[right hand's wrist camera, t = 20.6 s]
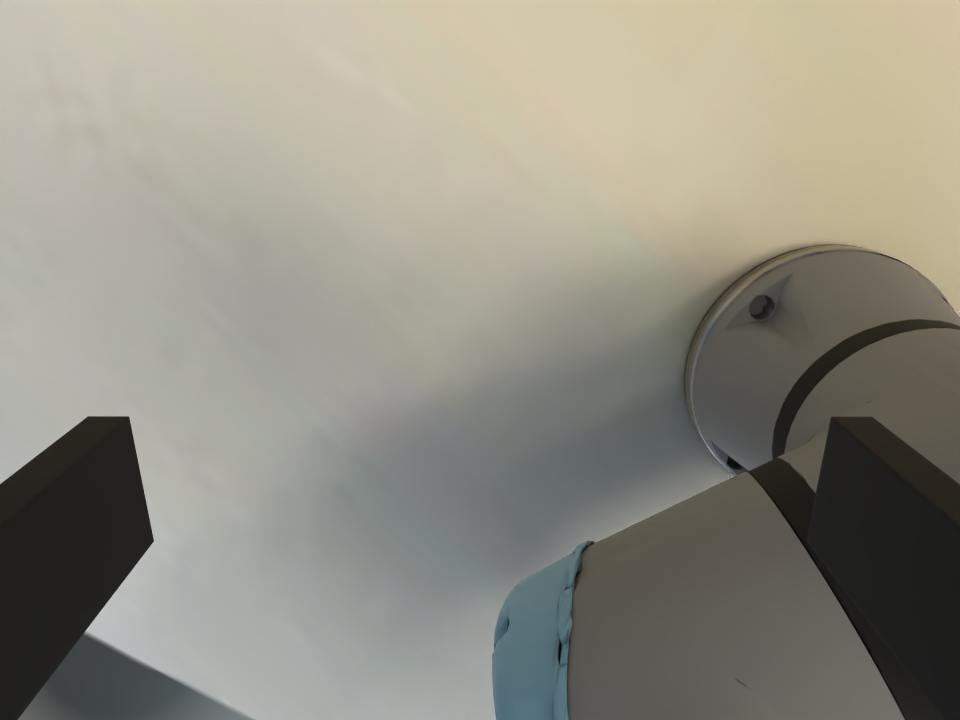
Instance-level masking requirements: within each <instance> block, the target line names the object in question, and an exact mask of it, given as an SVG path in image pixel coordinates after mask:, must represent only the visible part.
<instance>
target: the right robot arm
mask: <svg viewBox="0 0 960 720" xmlns="http://www.w3.org/2000/svg"><path fill="white" fill-rule="evenodd" d="M685 396H686V402H687V407H688V411H689V414H690V417H691V420H692V422H693V425H694V427H695V428H696V430H697V432H698V434H699V435H700V437H701V438H702V440H703V441H704V443H705V444H706V446H707V447H708V449H709V450H710V451H711V453H712V454H713V455H714V456H715V457H716V459H717V460H718V461H719V462H720V463H721V464H722V465H723V466H725V467H726V468H727V469H728V470H730V471H731V472H732V473H733V474H734V475H736V476H735V477H733V478H731V479H729V480H727V481H725V482H723V483H720V484H718V485H716V486H714V487H712V488H710V489H708V490H706V491H704V492H702V493H700V494H697V495H695V496H693V497H691V498H689V499H687V500H685V501H683V502H681V503H679V504H676V505H674V506H672V507H670V508H668V509H666V510H664V511H662V512H660V513H658V514H656V515H653V516H651V517H649V518H647V519H645V520H643V521H641V522H639V523H637V524H635V525H632V526H630V527H628V528H626V529H624V530H622V531H620V532H618V533H616V534H614V535H612V536H609V537H607V538H605V539H603V540H601V541H599V542H597V543H595V542H594V541H586V542H583V543H581V544H580V545H578V546H577V547H576V549H575V550H574V551H573V553H572V554H570V555H568V556H566V557H564V558H563V559H561V560H559V561H557V562H555V563H553V564H552V565H550V566H548V567H546V568H544V569H542V570H540V571H539V572H537V573H535V574H533V575H531V576H529V577H528V578H526V579H524V580H523V581H522V582H520V583H519V584H518V585H517V586H516V587H515V588H514V589H513V590H512V591H511V593H510V594H509V595H508V597H507V599H506V600H505V603H504V605H503V607H502V609H501V611H500V614H499V617H498V621H497V624H496V629H495V639H494V652H493V657H492V679H493V695H494V706H495V714H496V720H960V317H959V316H958V315H957V314H956V312H955V311H954V309H953V308H952V307H951V305H950V304H949V302H948V301H947V299H946V298H945V296H944V295H943V294H942V293H941V291H940V290H939V289H938V288H937V287H936V286H935V285H934V284H933V283H932V282H931V281H930V280H928V279H927V278H926V277H925V276H923V275H922V274H921V273H919V272H918V271H917V270H915V269H914V268H912V267H911V266H909V265H907V264H905V263H903V262H901V261H899V260H897V259H894V258H892V257H889V256H887V255H884V254H881V253H878V252H875V251H872V250H868V249H864V248H861V247H854V246H846V245H823V246H815V247H808V248H804V249H800V250H796V251H792V252H789V253H786V254H783V255H781V256H778V257H776V258H774V259H772V260H769V261H767V262H765V263H764V264H762V265H760V266H758V267H756V268H755V269H753V270H752V271H750V272H749V273H747V274H746V275H744V276H743V277H742V278H741V279H739V280H738V281H737V282H736V283H734V284H733V285H732V286H731V287H730V288H729V289H728V290H727V291H726V292H725V293H724V294H723V295H722V296H721V297H720V298H719V299H718V300H717V302H716V303H715V304H714V305H713V307H712V308H711V309H710V311H709V312H708V313H707V315H706V317H705V318H704V320H703V321H702V323H701V325H700V327H699V329H698V331H697V333H696V335H695V337H694V340H693V342H692V345H691V348H690V351H689V355H688V359H687V364H686V370H685ZM153 542H154V540H153V535H152V530H151V525H150V520H149V515H148V509H147V504H146V499H145V494H144V489H143V484H142V479H141V474H140V469H139V464H138V459H137V454H136V449H135V444H134V439H133V434H132V429H131V424H130V419H129V417H87V418H86V419H84V420H83V421H82V422H80V423H79V424H78V425H76V426H75V427H74V428H73V429H71V430H70V431H69V432H67V433H66V434H65V435H63V436H62V437H61V438H60V439H58V440H57V441H56V442H54V443H53V444H52V445H51V446H49V447H48V448H47V449H45V450H44V451H43V452H41V453H40V454H39V455H38V456H36V457H35V458H34V459H32V460H31V461H30V462H29V463H27V464H26V465H25V466H23V467H22V468H21V469H19V470H18V471H17V472H16V473H14V474H13V475H12V476H10V477H9V478H8V479H6V480H5V481H4V482H3V483H1V484H0V720H18V718H19V717H20V716H21V714H22V713H23V712H24V710H25V709H26V708H27V707H28V705H29V704H30V703H31V701H32V700H33V699H34V697H35V696H36V695H37V693H38V692H39V691H40V690H41V688H42V687H43V686H44V684H45V683H46V682H47V680H48V679H49V678H50V676H51V675H52V674H53V673H54V671H55V670H56V669H57V667H58V666H59V665H60V663H61V662H62V661H63V659H64V658H65V657H66V655H67V654H68V653H69V651H70V650H71V649H72V648H73V646H74V645H75V644H76V642H77V641H78V640H79V638H80V637H81V636H82V635H83V633H84V632H85V631H86V629H87V628H88V627H89V625H90V624H91V623H92V621H93V620H94V619H95V618H96V616H97V615H98V614H99V612H100V611H101V610H102V608H103V607H104V606H105V604H106V603H107V602H108V601H109V599H110V598H111V597H112V595H113V594H114V593H115V591H116V590H117V589H118V587H119V586H120V585H121V583H122V582H123V581H124V580H125V578H126V577H127V576H128V574H129V573H130V572H131V570H132V569H133V568H134V566H135V565H136V564H137V563H138V561H139V560H140V559H141V557H142V556H143V555H144V553H145V552H146V551H147V549H148V548H149V547H150V546H151V544H152V543H153Z"/></svg>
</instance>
